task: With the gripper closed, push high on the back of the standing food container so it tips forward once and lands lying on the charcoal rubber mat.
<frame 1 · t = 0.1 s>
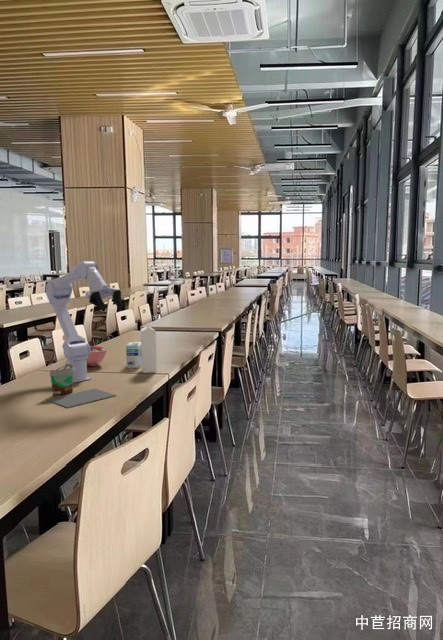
hand: (113, 308, 185), 32 cm above the table, tool tilted 50°, fingers open, 7 cm apart
food container: (66, 393, 187), on the table
light bulb box: (135, 366, 234), on the table
milk: (149, 371, 223), on the table
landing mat: (82, 398, 180), on the table
cell model: (86, 366, 234), on the table
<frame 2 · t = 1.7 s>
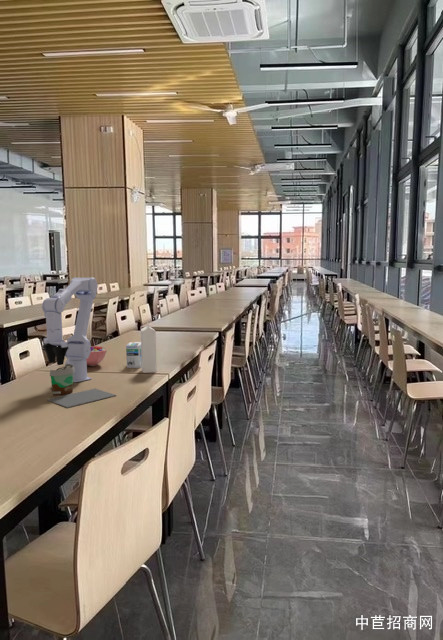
hand: (56, 363, 191), 10 cm above the table, tool pointing down, fingers open, 6 cm apart
nothing on the table moved.
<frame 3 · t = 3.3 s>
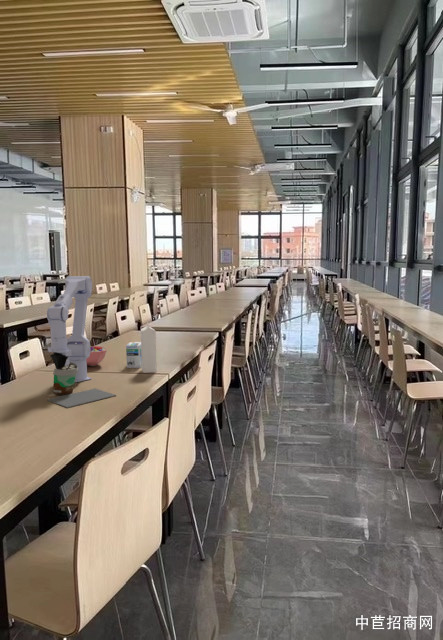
hand: (60, 372, 189), 7 cm above the table, tool pointing down, fingers closed
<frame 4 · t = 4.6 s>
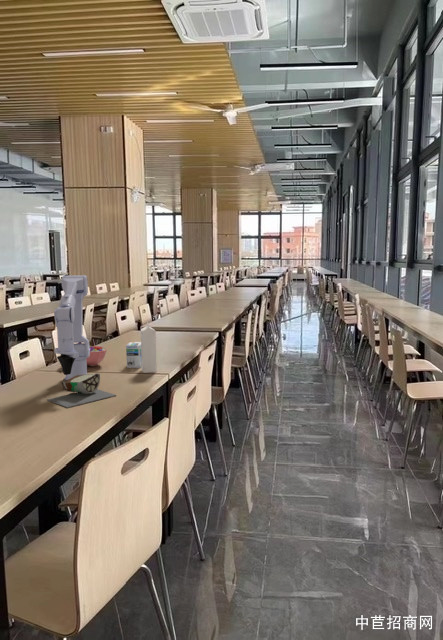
hand: (67, 374, 186), 7 cm above the table, tool pointing down, fingers closed
food container: (70, 386, 187), point 3 cm above the table, touching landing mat
everything else where it was.
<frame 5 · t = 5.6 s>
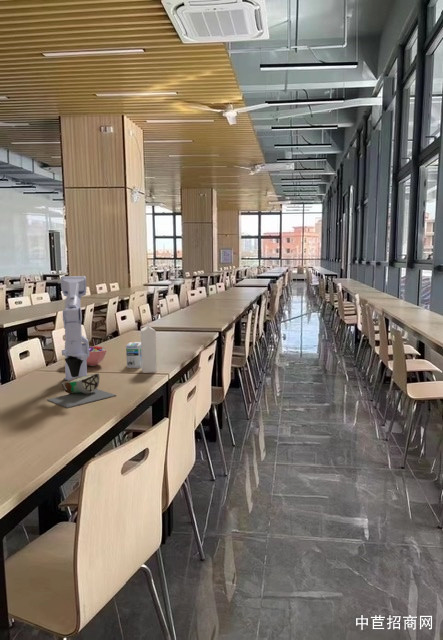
hand: (75, 376, 182), 7 cm above the table, tool pointing down, fingers closed
food container: (70, 388, 187), point 2 cm above the table, touching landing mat
everything else where it was.
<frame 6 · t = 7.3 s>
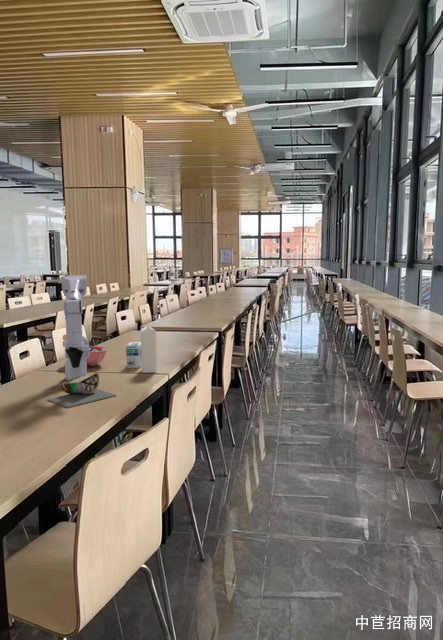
hand: (75, 367, 184), 10 cm above the table, tool pointing down, fingers closed
nothing on the table moved.
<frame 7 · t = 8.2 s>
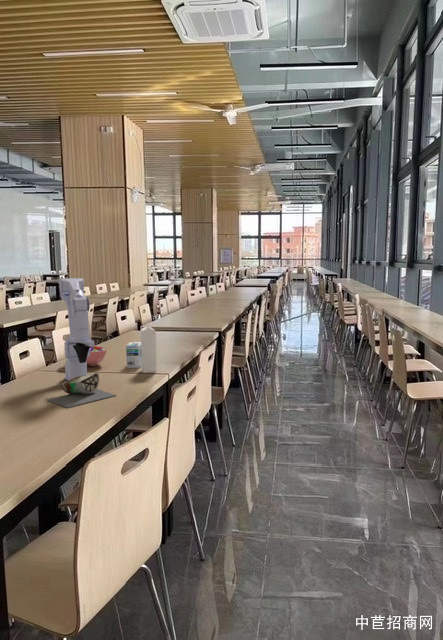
hand: (82, 362, 192), 10 cm above the table, tool pointing down, fingers closed
nothing on the table moved.
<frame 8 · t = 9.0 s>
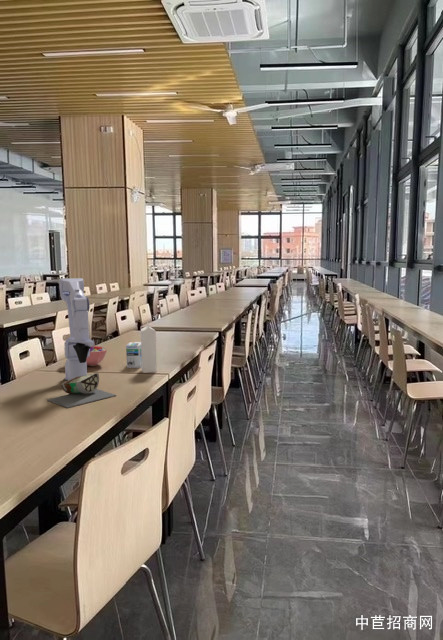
hand: (82, 362, 192), 10 cm above the table, tool pointing down, fingers closed
nothing on the table moved.
at the end: food container tilted 78°; food container touching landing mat, table; food container inside the target area (7.3 cm from its centre), point 1.8 cm above the table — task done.
